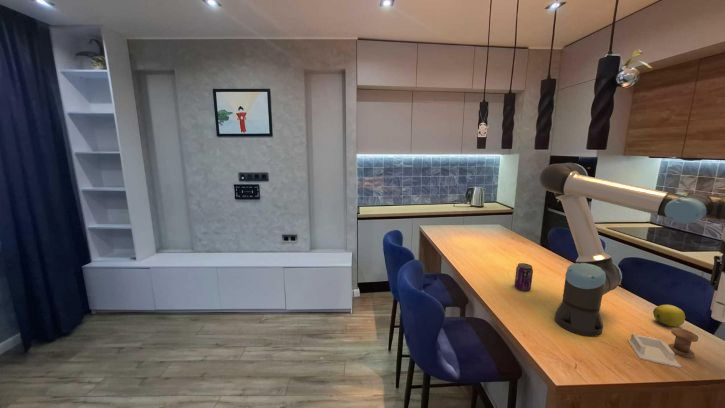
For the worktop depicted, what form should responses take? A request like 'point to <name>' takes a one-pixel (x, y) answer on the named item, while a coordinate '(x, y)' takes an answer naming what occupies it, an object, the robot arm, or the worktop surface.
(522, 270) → the beverage can
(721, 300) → the tube
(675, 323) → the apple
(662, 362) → the notch board
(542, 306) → the worktop surface
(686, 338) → the wooden cabinet knob
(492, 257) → the worktop surface
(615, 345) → the worktop surface
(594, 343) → the worktop surface
